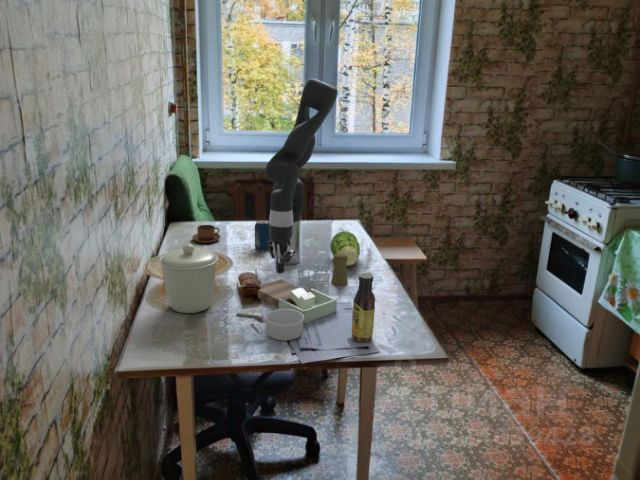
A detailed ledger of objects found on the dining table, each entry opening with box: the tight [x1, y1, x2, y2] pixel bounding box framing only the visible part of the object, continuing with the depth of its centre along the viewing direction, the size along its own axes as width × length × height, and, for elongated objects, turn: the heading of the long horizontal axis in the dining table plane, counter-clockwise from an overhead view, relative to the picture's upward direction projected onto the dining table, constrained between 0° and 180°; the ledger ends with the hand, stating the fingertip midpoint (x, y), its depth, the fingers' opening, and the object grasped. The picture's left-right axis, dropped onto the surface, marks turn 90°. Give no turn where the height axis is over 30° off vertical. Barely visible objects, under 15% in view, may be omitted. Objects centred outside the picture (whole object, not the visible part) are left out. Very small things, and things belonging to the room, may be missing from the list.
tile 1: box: [290, 287, 307, 305], centre depth 185 cm, size 4×4×2 cm
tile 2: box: [297, 291, 316, 310], centre depth 183 cm, size 4×4×2 cm
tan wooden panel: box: [258, 278, 310, 309], centre depth 192 cm, size 15×12×3 cm
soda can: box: [254, 219, 271, 252], centre depth 239 cm, size 7×7×12 cm
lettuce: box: [329, 231, 361, 267], centre depth 225 cm, size 12×21×11 cm, turn 5°
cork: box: [330, 253, 349, 287], centre depth 205 cm, size 6×6×11 cm
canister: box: [158, 243, 219, 314], centre depth 181 cm, size 18×18×21 cm
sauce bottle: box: [351, 272, 376, 343], centre depth 163 cm, size 7×6×20 cm
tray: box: [279, 288, 338, 325], centre depth 183 cm, size 12×14×4 cm
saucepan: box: [235, 308, 305, 341], centre depth 167 cm, size 12×20×6 cm, turn 86°
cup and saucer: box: [191, 224, 221, 244], centre depth 249 cm, size 12×12×6 cm
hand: (280, 272), depth 189 cm, fingers closed
